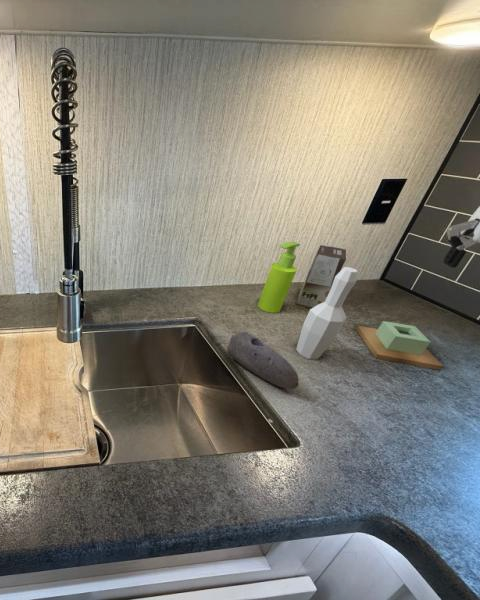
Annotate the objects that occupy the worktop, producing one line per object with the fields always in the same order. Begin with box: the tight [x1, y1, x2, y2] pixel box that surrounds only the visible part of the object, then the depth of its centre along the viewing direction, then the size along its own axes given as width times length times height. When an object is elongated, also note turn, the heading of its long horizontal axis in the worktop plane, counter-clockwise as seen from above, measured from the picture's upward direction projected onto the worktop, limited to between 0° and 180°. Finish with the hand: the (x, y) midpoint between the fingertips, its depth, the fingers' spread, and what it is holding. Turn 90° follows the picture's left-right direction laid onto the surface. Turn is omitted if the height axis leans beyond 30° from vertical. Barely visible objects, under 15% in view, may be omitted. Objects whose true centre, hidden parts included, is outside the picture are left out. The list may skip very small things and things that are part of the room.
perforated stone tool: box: [226, 331, 300, 390], centre depth 66 cm, size 15×5×7 cm, turn 30°
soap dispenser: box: [257, 241, 301, 314], centre depth 86 cm, size 6×7×20 cm
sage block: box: [375, 320, 431, 355], centre depth 74 cm, size 6×6×4 cm
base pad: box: [355, 325, 444, 371], centre depth 75 cm, size 12×12×4 cm
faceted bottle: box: [295, 266, 359, 360], centre depth 68 cm, size 6×6×22 cm
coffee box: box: [296, 244, 347, 309], centre depth 90 cm, size 9×6×16 cm
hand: (477, 267), depth 68 cm, fingers open, 9 cm apart
